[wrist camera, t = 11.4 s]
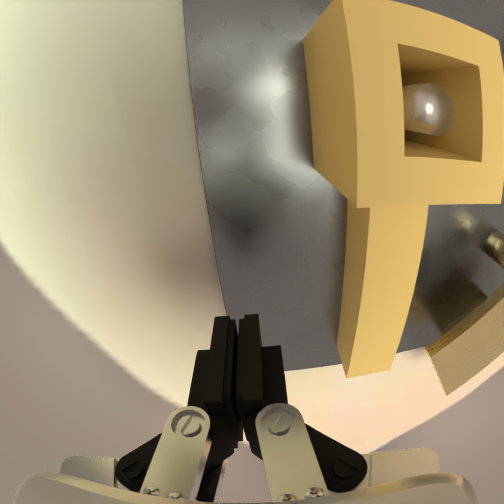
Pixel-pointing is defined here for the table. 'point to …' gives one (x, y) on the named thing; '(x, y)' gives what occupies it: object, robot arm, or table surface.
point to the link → (397, 151)
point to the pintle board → (326, 193)
